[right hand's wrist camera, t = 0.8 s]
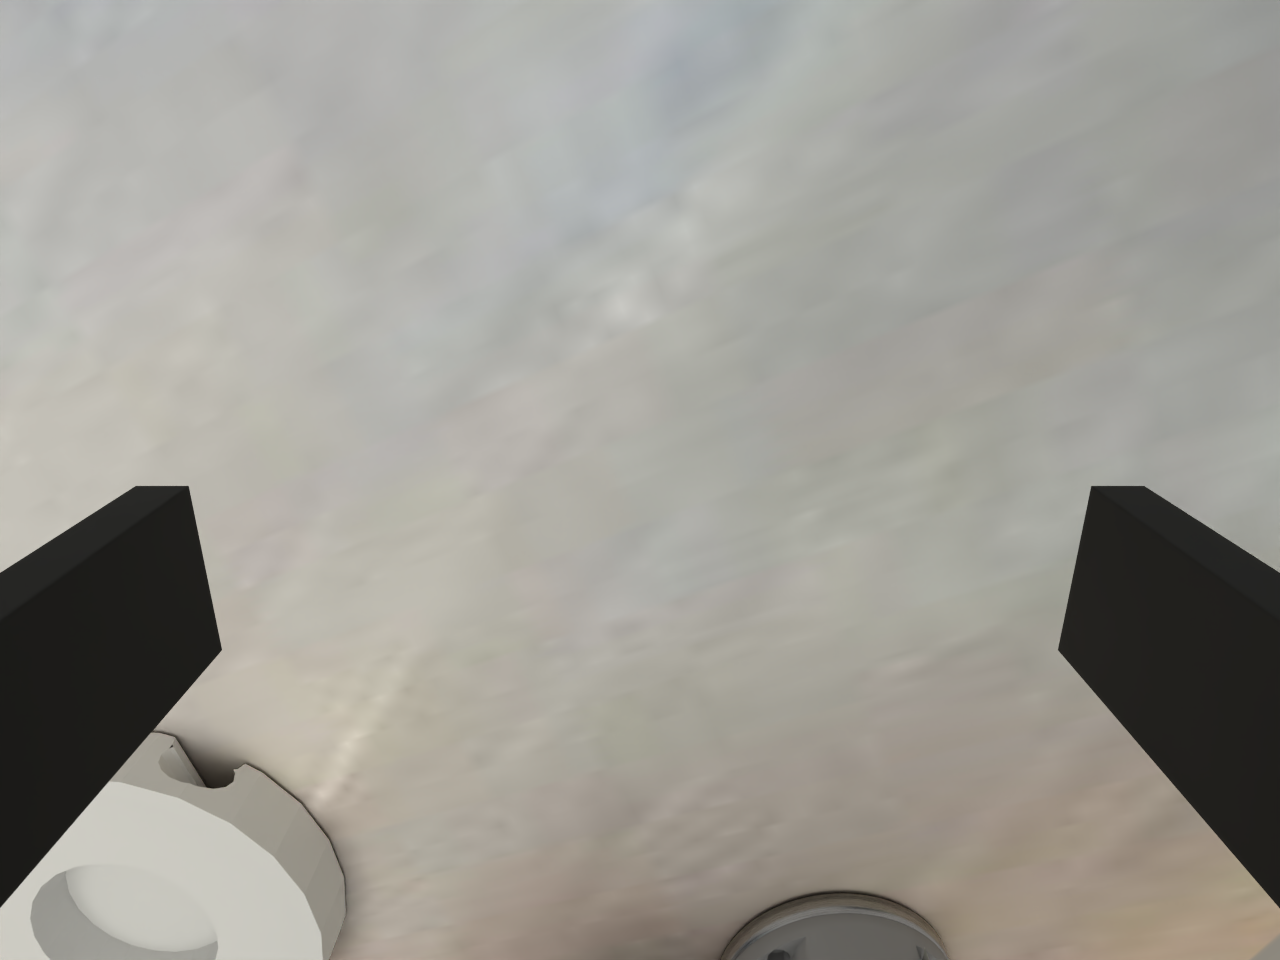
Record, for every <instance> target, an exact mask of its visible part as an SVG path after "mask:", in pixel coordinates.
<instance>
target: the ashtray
mask: <svg viewBox="0 0 1280 960" xmlns="http://www.w3.org/2000/svg"><path fill="white" fill-rule="evenodd" d="M233 770H234V772H235V776H234V781H233V782H232V783H231V784H229V785H228V786H227V787H222V788H215V789H211V788H207V787H206V786H205V784H204V783H203V781H202V779H201V778H200V776H199V775H198V773H197V771H196V770H195V768H194V767H193V765H192V763H191V762H190V760H189V759H188V757H187V756H186V754H185V752H184V751H183V749H182V748H181V746H180V744H179V743H178V741H177V740H176V738H175V737H173V736H169V735H166V734H162V733H150V734H149V735H148V737H147V738H146V739H145V740H144V741H143V742H142V744H141V745H140V746H139V747H138V748H137V749H136V751H135V752H134V753H133V754H132V755H131V756H130V758H129V759H128V760H127V761H126V762H125V763H124V765H123V766H122V767H121V768H120V769H119V770H118V772H117V773H116V774H115V775H114V776H113V777H112V779H111V780H110V781H109V782H108V783H107V784H106V786H105V787H104V788H103V789H102V790H101V791H100V793H99V794H98V795H97V796H96V797H95V798H94V800H93V801H92V802H91V803H90V804H89V805H88V806H87V808H86V809H85V810H84V811H83V812H82V813H81V815H80V816H79V817H78V818H77V819H76V820H75V822H74V823H73V824H72V825H71V826H70V827H69V829H68V830H67V831H66V832H65V833H64V834H63V836H62V837H61V838H60V839H59V840H58V841H57V843H56V844H55V845H54V846H53V847H52V848H51V850H50V851H49V852H48V853H47V854H46V855H45V857H44V858H43V859H42V860H41V861H40V862H39V864H38V865H37V866H36V867H35V868H34V869H33V871H32V872H31V873H30V874H29V875H28V876H27V878H26V879H25V880H24V881H23V882H22V883H21V884H20V886H19V887H18V888H17V889H16V890H15V891H14V893H13V894H12V895H11V896H10V897H9V898H8V900H7V901H6V902H5V903H4V904H3V905H2V907H1V908H0V960H329V959H330V956H331V954H332V951H333V948H334V946H335V943H336V941H337V938H338V936H339V933H340V930H341V927H342V925H343V922H344V918H345V915H346V904H345V885H344V876H343V873H342V871H341V868H340V866H339V863H338V861H337V858H336V856H335V853H334V851H333V848H332V846H331V843H330V841H329V839H328V838H327V836H326V835H325V834H324V833H323V831H322V830H321V829H320V827H319V826H318V825H317V824H316V822H315V821H314V820H313V818H312V817H311V816H310V814H309V813H308V812H307V811H306V809H305V808H304V807H303V805H302V804H301V803H300V802H298V801H297V800H296V799H295V798H293V797H292V796H291V795H290V794H288V793H287V792H286V791H285V790H283V789H282V788H281V787H280V786H278V785H277V784H276V783H275V782H273V781H272V780H271V779H270V778H268V777H267V776H266V775H265V774H264V773H262V772H260V771H258V770H256V769H254V768H253V767H251V766H249V765H247V764H244V765H242V766H241V767H240V768H238V769H233Z"/></svg>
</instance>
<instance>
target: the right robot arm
mask: <svg viewBox="0 0 1280 960" xmlns="http://www.w3.org/2000/svg"><path fill="white" fill-rule="evenodd" d="M221 650H222V648H221V643H220V638H219V633H218V628H217V623H216V618H215V614H214V609H213V604H212V599H211V594H210V589H209V584H208V579H207V574H206V569H205V564H204V560H203V555H202V550H201V545H200V540H199V535H198V530H197V525H196V520H195V515H194V510H193V506H192V501H191V496H190V491H189V486H135V487H134V488H132V489H131V490H129V491H127V492H126V493H124V494H123V495H121V496H120V497H118V498H117V499H115V500H113V501H112V502H110V503H109V504H107V505H106V506H104V507H102V508H101V509H99V510H98V511H96V512H95V513H93V514H92V515H90V516H88V517H87V518H85V519H84V520H82V521H81V522H79V523H77V524H76V525H74V526H73V527H71V528H70V529H68V530H67V531H65V532H63V533H62V534H60V535H59V536H57V537H56V538H54V539H53V540H51V541H49V542H48V543H46V544H45V545H43V546H42V547H40V548H38V549H37V550H35V551H34V552H32V553H31V554H29V555H28V556H26V557H24V558H23V559H21V560H20V561H18V562H17V563H15V564H13V565H12V566H10V567H9V568H7V569H6V570H4V571H3V572H1V573H0V908H1V907H2V905H3V904H4V903H5V902H6V901H7V900H8V898H9V897H10V896H11V895H12V894H13V893H14V891H15V890H16V889H17V888H18V887H19V886H20V884H21V883H22V882H23V881H24V880H25V879H26V878H27V876H28V875H29V874H30V873H31V872H32V871H33V869H34V868H35V867H36V866H37V865H38V864H39V862H40V861H41V860H42V859H43V858H44V857H45V855H46V854H47V853H48V852H49V851H50V850H51V848H52V847H53V846H54V845H55V844H56V843H57V841H58V840H59V839H60V838H61V837H62V836H63V834H64V833H65V832H66V831H67V830H68V829H69V827H70V826H71V825H72V824H73V823H74V822H75V820H76V819H77V818H78V817H79V816H80V815H81V813H82V812H83V811H84V810H85V809H86V808H87V806H88V805H89V804H90V803H91V802H92V801H93V800H94V798H95V797H96V796H97V795H98V794H99V793H100V791H101V790H102V789H103V788H104V787H105V786H106V784H107V783H108V782H109V781H110V780H111V779H112V777H113V776H114V775H115V774H116V773H117V772H118V770H119V769H120V768H121V767H122V766H123V765H124V763H125V762H126V761H127V760H128V759H129V758H130V756H131V755H132V754H133V753H134V752H135V751H136V749H137V748H138V747H139V746H140V745H141V744H142V742H143V741H144V740H145V739H146V738H147V737H148V735H149V734H150V733H151V732H152V731H153V730H154V728H155V727H156V726H157V725H158V724H159V723H160V721H161V720H162V719H163V718H164V717H165V716H166V715H167V713H168V712H169V711H170V710H171V709H172V708H173V706H174V705H175V704H176V703H177V702H178V701H179V699H180V698H181V697H182V696H183V695H184V694H185V692H186V691H187V690H188V689H189V688H190V687H191V685H192V684H193V683H194V682H195V681H196V680H197V678H198V677H199V676H200V675H201V674H202V673H203V671H204V670H205V669H206V668H207V667H208V666H209V664H210V663H211V662H212V661H213V660H214V659H215V657H216V656H217V655H218V654H219V653H220V652H221ZM1058 650H1059V652H1060V653H1061V654H1062V655H1063V656H1064V657H1065V659H1066V660H1067V661H1068V662H1069V663H1070V664H1071V666H1072V667H1073V668H1074V669H1075V670H1076V671H1077V673H1078V674H1079V675H1080V676H1081V677H1082V678H1083V680H1084V681H1085V682H1086V683H1087V684H1088V685H1089V687H1090V688H1091V689H1092V690H1093V691H1094V692H1095V694H1096V695H1097V696H1098V697H1099V698H1100V699H1101V701H1102V702H1103V703H1104V704H1105V705H1106V706H1107V708H1108V709H1109V710H1110V711H1111V712H1112V713H1113V715H1114V716H1115V717H1116V718H1117V719H1118V720H1119V722H1120V723H1121V724H1122V725H1123V726H1124V727H1125V728H1126V730H1127V731H1128V732H1129V733H1130V734H1131V735H1132V737H1133V738H1134V739H1135V740H1136V741H1137V742H1138V744H1139V745H1140V746H1141V747H1142V748H1143V749H1144V751H1145V752H1146V753H1147V754H1148V755H1149V756H1150V758H1151V759H1152V760H1153V761H1154V762H1155V763H1156V765H1157V766H1158V767H1159V768H1160V769H1161V770H1162V772H1163V773H1164V774H1165V775H1166V776H1167V777H1168V779H1169V780H1170V781H1171V782H1172V783H1173V784H1174V786H1175V787H1176V788H1177V789H1178V790H1179V791H1180V793H1181V794H1182V795H1183V796H1184V797H1185V798H1186V800H1187V801H1188V802H1189V803H1190V804H1191V805H1192V806H1193V808H1194V809H1195V810H1196V811H1197V812H1198V813H1199V815H1200V816H1201V817H1202V818H1203V819H1204V820H1205V822H1206V823H1207V824H1208V825H1209V826H1210V827H1211V829H1212V830H1213V831H1214V832H1215V833H1216V834H1217V836H1218V837H1219V838H1220V839H1221V840H1222V841H1223V843H1224V844H1225V845H1226V846H1227V847H1228V848H1229V850H1230V851H1231V852H1232V853H1233V854H1234V855H1235V857H1236V858H1237V859H1238V860H1239V861H1240V862H1241V864H1242V865H1243V866H1244V867H1245V868H1246V869H1247V871H1248V872H1249V873H1250V874H1251V875H1252V876H1253V878H1254V879H1255V880H1256V881H1257V882H1258V883H1259V884H1260V886H1261V887H1262V888H1263V889H1264V890H1265V891H1266V893H1267V894H1268V895H1269V896H1270V897H1271V898H1272V900H1273V901H1274V902H1275V903H1276V904H1277V905H1278V907H1279V908H1280V573H1279V572H1277V571H1276V570H1274V569H1273V568H1271V567H1270V566H1268V565H1267V564H1265V563H1263V562H1262V561H1260V560H1259V559H1257V558H1256V557H1254V556H1252V555H1251V554H1249V553H1248V552H1246V551H1245V550H1243V549H1242V548H1240V547H1238V546H1237V545H1235V544H1234V543H1232V542H1231V541H1229V540H1227V539H1226V538H1224V537H1223V536H1221V535H1220V534H1218V533H1217V532H1215V531H1213V530H1212V529H1210V528H1209V527H1207V526H1206V525H1204V524H1203V523H1201V522H1199V521H1198V520H1196V519H1195V518H1193V517H1192V516H1190V515H1188V514H1187V513H1185V512H1184V511H1182V510H1181V509H1179V508H1178V507H1176V506H1174V505H1173V504H1171V503H1170V502H1168V501H1167V500H1165V499H1163V498H1162V497H1160V496H1159V495H1157V494H1156V493H1154V492H1153V491H1151V490H1149V489H1148V488H1146V487H1145V486H1091V491H1090V496H1089V501H1088V506H1087V510H1086V515H1085V520H1084V525H1083V530H1082V535H1081V540H1080V545H1079V550H1078V555H1077V560H1076V564H1075V569H1074V574H1073V579H1072V584H1071V589H1070V594H1069V599H1068V604H1067V609H1066V614H1065V618H1064V623H1063V628H1062V633H1061V638H1060V643H1059V648H1058ZM720 960H950V959H949V957H948V954H947V951H946V949H945V947H944V944H943V942H942V940H941V939H940V937H939V936H938V934H937V933H936V932H935V930H934V929H933V928H932V927H931V926H930V925H929V924H928V923H927V922H926V921H925V920H924V919H922V918H921V917H920V916H919V915H917V914H916V913H914V912H912V911H911V910H909V909H907V908H905V907H903V906H901V905H899V904H896V903H894V902H891V901H889V900H885V899H882V898H878V897H873V896H868V895H861V894H847V893H837V894H823V895H816V896H810V897H805V898H801V899H798V900H794V901H791V902H788V903H785V904H783V905H780V906H778V907H776V908H773V909H771V910H769V911H768V912H766V913H764V914H762V915H760V916H759V917H757V918H756V919H754V920H753V921H752V922H750V923H749V924H748V925H746V926H745V927H744V928H743V929H742V930H741V931H740V932H739V933H738V934H737V935H736V936H735V937H734V938H733V939H732V941H731V942H730V943H729V945H728V946H727V948H726V949H725V951H724V953H723V955H722V957H721V959H720Z"/></svg>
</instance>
